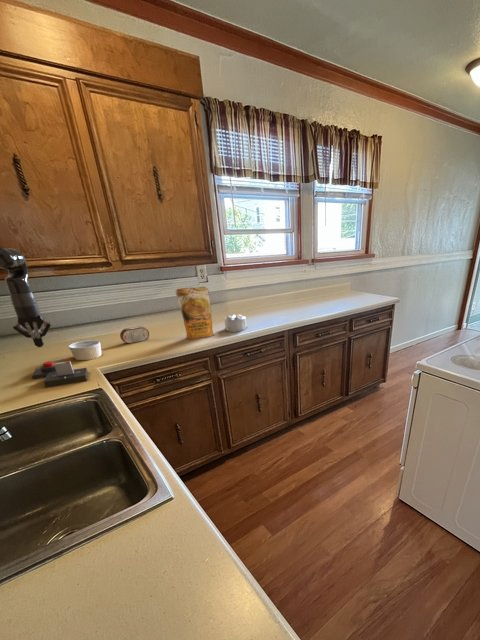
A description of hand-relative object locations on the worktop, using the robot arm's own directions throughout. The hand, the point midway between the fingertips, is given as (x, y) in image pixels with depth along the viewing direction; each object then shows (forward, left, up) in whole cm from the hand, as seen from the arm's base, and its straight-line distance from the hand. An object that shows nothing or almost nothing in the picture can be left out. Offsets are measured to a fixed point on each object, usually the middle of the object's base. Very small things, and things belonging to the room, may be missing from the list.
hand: (40, 346), depth 136 cm
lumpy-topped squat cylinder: (+96, +36, -13) cm, 103 cm away
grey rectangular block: (+8, -12, -10) cm, 17 cm away
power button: (+1, 0, -9) cm, 9 cm away
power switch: (+1, 0, -13) cm, 13 cm away
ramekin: (+14, +18, -13) cm, 26 cm away
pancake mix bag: (+71, +29, -13) cm, 78 cm away
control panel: (+8, -12, -13) cm, 19 cm away
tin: (+37, +35, -13) cm, 52 cm away
